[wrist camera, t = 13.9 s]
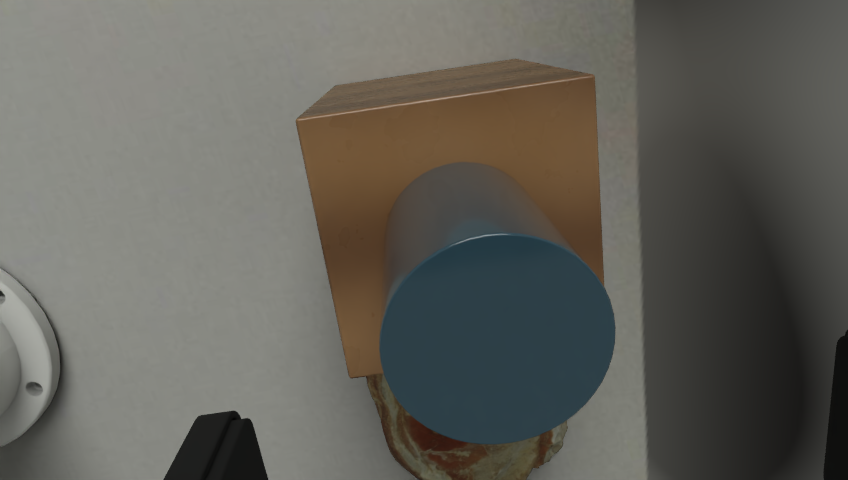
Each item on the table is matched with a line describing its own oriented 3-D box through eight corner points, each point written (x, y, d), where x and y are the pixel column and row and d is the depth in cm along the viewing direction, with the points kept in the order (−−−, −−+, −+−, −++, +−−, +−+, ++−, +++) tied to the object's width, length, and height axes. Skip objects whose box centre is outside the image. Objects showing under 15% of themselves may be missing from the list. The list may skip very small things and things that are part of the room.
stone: (596, 413, 36) (615, 446, 33) (468, 506, 38) (475, 545, 35) (457, 257, 32) (464, 279, 29) (320, 367, 34) (314, 399, 31)
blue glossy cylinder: (372, 174, 18) (359, 253, 12) (534, 150, 18) (611, 216, 12) (397, 319, 20) (398, 460, 13) (546, 298, 20) (620, 428, 13)
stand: (333, 85, 29) (294, 118, 18) (517, 58, 29) (595, 74, 18) (365, 257, 32) (349, 379, 21) (532, 232, 32) (607, 341, 21)
